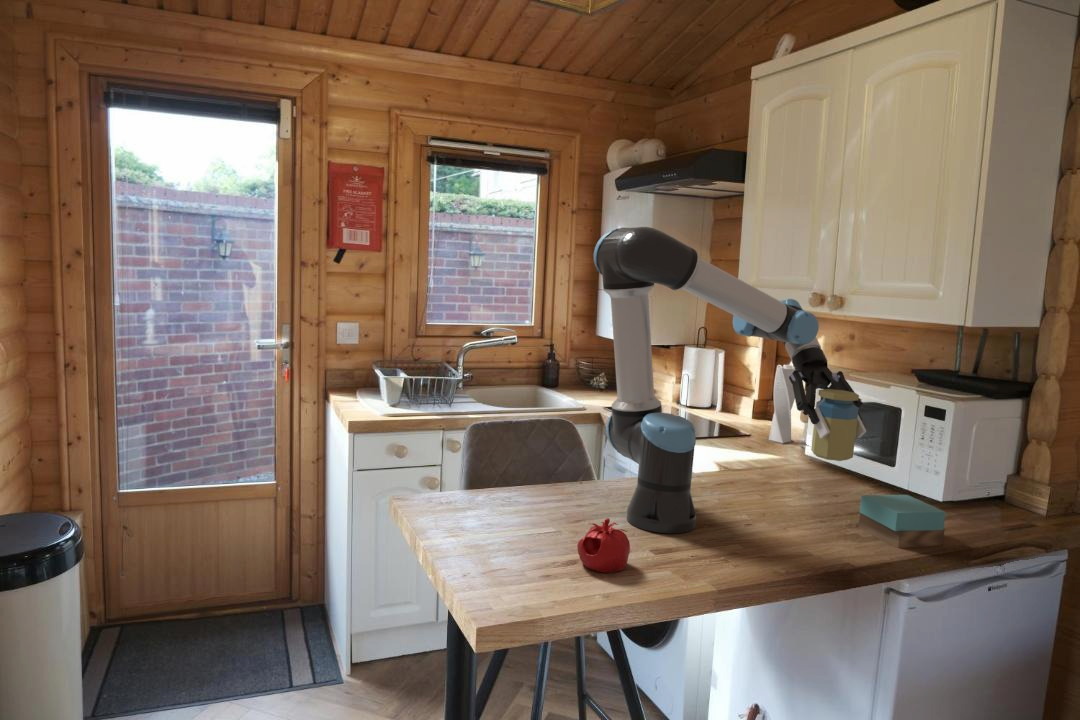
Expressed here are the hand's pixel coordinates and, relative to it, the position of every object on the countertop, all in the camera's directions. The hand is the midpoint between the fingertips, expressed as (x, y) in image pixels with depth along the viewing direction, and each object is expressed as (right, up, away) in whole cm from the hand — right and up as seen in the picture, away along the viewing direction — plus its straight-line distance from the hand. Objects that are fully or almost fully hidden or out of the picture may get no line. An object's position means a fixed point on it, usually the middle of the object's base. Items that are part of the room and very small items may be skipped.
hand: (843, 435), depth 169 cm
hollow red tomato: (-56, -22, -28) cm, 67 cm away
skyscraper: (+14, -11, +88) cm, 90 cm away
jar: (-1, -6, +4) cm, 7 cm away
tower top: (+12, -19, -2) cm, 22 cm away
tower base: (+12, -23, -1) cm, 26 cm away
